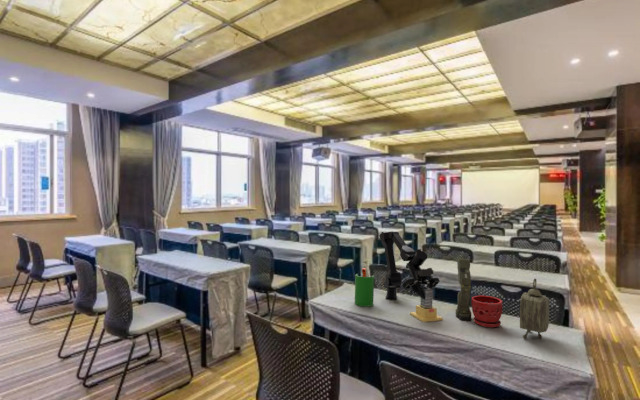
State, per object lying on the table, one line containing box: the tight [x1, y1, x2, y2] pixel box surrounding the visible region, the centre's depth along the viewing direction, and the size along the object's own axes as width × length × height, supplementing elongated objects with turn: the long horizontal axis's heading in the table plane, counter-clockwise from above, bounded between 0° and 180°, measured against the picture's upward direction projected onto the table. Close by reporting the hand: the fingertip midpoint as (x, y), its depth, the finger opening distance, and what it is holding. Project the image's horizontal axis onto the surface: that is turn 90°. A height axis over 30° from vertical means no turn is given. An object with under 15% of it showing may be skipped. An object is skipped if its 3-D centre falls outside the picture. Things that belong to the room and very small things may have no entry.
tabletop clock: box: [519, 278, 550, 340], centre depth 146 cm, size 14×9×25 cm, turn 141°
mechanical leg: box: [455, 257, 472, 322], centre depth 171 cm, size 14×7×30 cm, turn 169°
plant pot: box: [470, 295, 503, 329], centre depth 160 cm, size 13×13×12 cm
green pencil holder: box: [354, 267, 375, 307], centre depth 186 cm, size 10×9×20 cm
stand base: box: [409, 304, 443, 323], centre depth 168 cm, size 11×11×5 cm
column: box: [419, 286, 434, 309], centre depth 168 cm, size 4×4×12 cm
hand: (428, 298), depth 167 cm, fingers closed on column, 4 cm apart
